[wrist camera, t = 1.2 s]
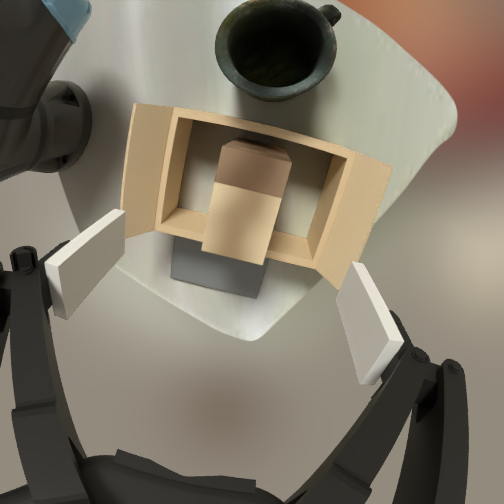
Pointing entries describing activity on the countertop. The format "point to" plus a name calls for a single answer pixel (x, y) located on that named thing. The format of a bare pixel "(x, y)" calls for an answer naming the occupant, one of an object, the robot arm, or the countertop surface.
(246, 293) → the mat
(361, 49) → the countertop surface
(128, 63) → the countertop surface
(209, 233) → the block
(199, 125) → the countertop surface
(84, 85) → the countertop surface
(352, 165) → the carton
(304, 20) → the mug
